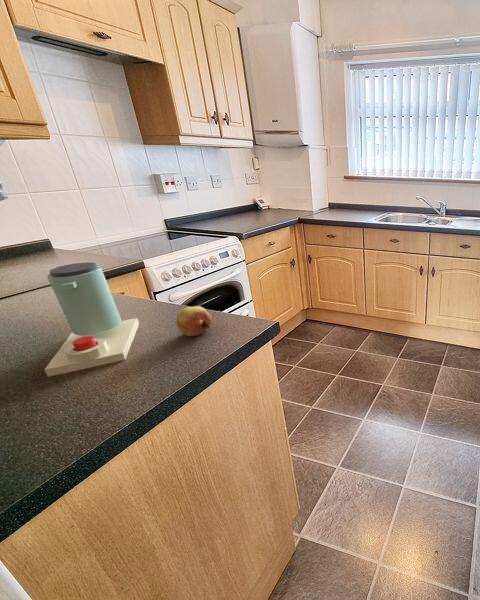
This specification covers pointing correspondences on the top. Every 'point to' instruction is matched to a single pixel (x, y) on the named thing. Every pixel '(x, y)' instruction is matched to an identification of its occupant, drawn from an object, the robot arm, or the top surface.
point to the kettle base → (94, 349)
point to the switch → (84, 343)
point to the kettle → (84, 298)
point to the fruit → (193, 320)
